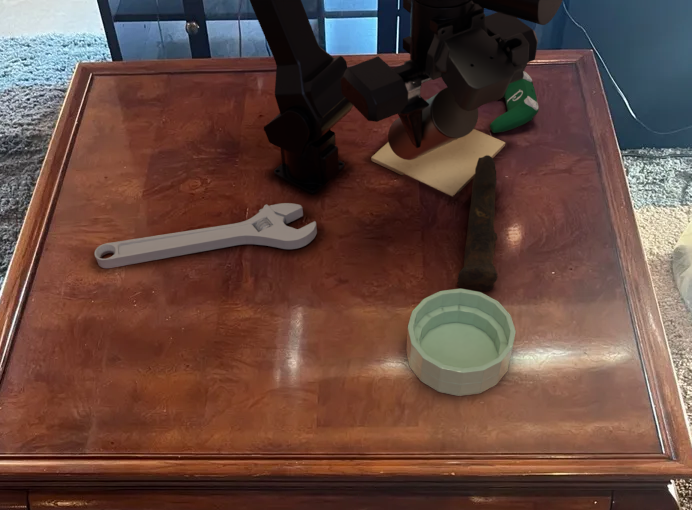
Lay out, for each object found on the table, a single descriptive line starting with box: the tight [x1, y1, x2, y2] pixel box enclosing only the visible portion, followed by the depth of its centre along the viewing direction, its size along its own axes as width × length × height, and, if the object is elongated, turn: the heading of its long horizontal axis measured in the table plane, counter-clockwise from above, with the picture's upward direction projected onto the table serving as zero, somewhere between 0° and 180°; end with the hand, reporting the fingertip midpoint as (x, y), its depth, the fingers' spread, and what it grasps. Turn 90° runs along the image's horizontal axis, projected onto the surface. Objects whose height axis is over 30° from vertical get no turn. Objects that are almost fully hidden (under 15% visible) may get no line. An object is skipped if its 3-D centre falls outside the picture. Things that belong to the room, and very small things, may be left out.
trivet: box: [370, 128, 506, 198], centre depth 101 cm, size 12×12×1 cm
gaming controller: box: [489, 70, 540, 134], centre depth 104 cm, size 9×4×6 cm
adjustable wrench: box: [94, 202, 318, 269], centre depth 93 cm, size 25×6×2 cm, turn 96°
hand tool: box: [456, 155, 499, 292], centre depth 90 cm, size 19×4×5 cm, turn 168°
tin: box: [387, 86, 479, 160], centre depth 83 cm, size 5×5×12 cm
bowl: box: [405, 288, 517, 397], centre depth 80 cm, size 10×10×4 cm
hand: (437, 137), depth 83 cm, fingers closed on tin, 5 cm apart
